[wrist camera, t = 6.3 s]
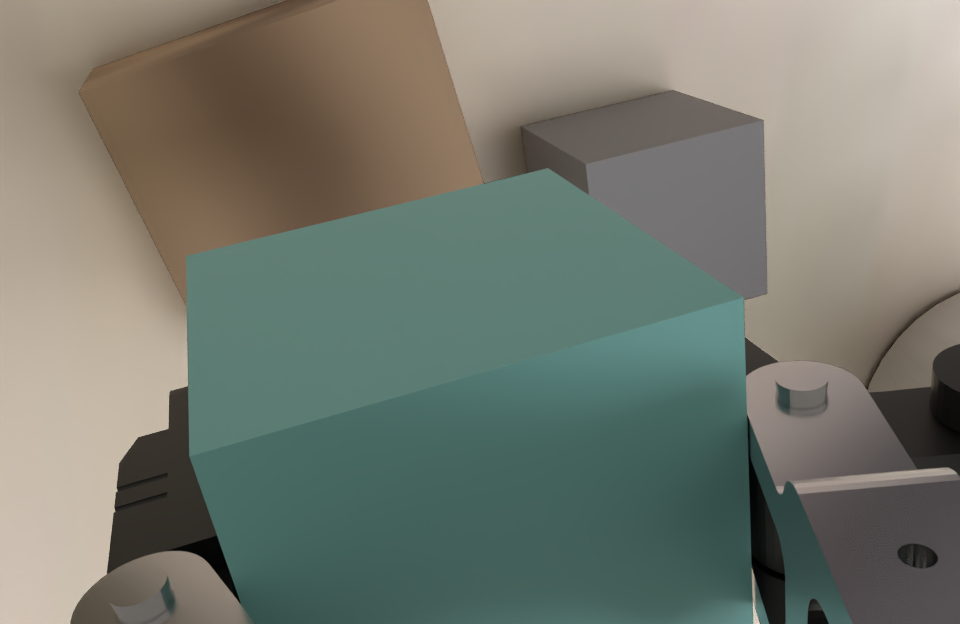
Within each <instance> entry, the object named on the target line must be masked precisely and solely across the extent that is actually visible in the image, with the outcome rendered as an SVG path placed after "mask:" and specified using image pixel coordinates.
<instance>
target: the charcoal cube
mask: <svg viewBox="0 0 960 624" xmlns="http://www.w3.org/2000/svg"><path fill="white" fill-rule="evenodd" d="M521 132H522V139H523V146H524V153H525V160H526V167H527V173H530V172H534V171H539V170H543V169H547V168H549V169H550V170H552V171H553V172H555V173H556V174H558V175H559V176H561V177H562V178H564V179H565V180H567V181H568V182H570V183H571V184H573V185H574V186H576V187H577V188H579V189H580V190H582V191H583V192H585V193H586V194H588V195H589V196H591V197H592V198H594V199H595V200H597V201H599V202H600V203H602V204H603V205H605V206H606V207H608V208H609V209H611V210H612V211H614V212H615V213H617V214H618V215H620V216H621V217H623V218H624V219H626V220H627V221H629V222H630V223H632V224H633V225H635V226H636V227H638V228H639V229H641V230H642V231H644V232H645V233H647V234H648V235H650V236H651V237H653V238H654V239H656V240H657V241H659V242H660V243H662V244H664V245H665V246H667V247H668V248H670V249H671V250H673V251H674V252H676V253H677V254H679V255H680V256H682V257H683V258H685V259H686V260H688V261H689V262H691V263H692V264H694V265H695V266H697V267H698V268H700V269H701V270H703V271H704V272H706V273H707V274H709V275H710V276H712V277H713V278H715V279H716V280H718V281H719V282H721V283H722V284H724V285H725V286H727V287H729V288H730V289H732V290H733V291H735V292H736V293H738V294H739V295H741V296H742V297H744V300H747V299H750V298H754V297H757V296H761V295H764V294H767V256H766V212H765V167H764V123H763V120H761V119H758V118H755V117H752V116H749V115H746V114H743V113H740V112H737V111H734V110H731V109H728V108H725V107H722V106H719V105H716V104H713V103H710V102H707V101H704V100H701V99H698V98H695V97H692V96H689V95H686V94H683V93H680V92H677V91H674V90H672V91H668V92H664V93H659V94H655V95H651V96H647V97H642V98H638V99H634V100H630V101H625V102H621V103H617V104H613V105H608V106H604V107H600V108H596V109H591V110H587V111H583V112H579V113H574V114H570V115H566V116H561V117H557V118H553V119H549V120H544V121H540V122H536V123H532V124H527V125H523V126H521Z"/></svg>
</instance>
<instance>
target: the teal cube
mask: <svg viewBox="0 0 960 624" xmlns="http://www.w3.org/2000/svg"><path fill="white" fill-rule="evenodd" d="M186 280H187V342H188V405H189V457H190V460H191V463H192V465H193V468H194V471H195V474H196V477H197V480H198V483H199V485H200V488H201V491H202V494H203V497H204V500H205V503H206V505H207V508H208V511H209V514H210V517H211V520H212V523H213V525H214V528H215V531H216V534H217V537H218V540H219V542H220V545H221V548H222V551H223V554H224V557H225V560H226V562H227V565H228V568H229V571H230V574H231V577H232V580H233V582H234V585H235V588H236V591H237V594H238V597H239V600H240V602H241V605H242V607H243V608H244V609H245V610H246V612H247V613H248V614H249V616H250V617H251V618H252V619H253V621H254V622H255V623H256V624H753V598H752V564H751V530H750V496H749V463H748V429H747V395H746V361H745V328H744V297H742V296H741V295H739V294H738V293H736V292H735V291H733V290H732V289H730V288H729V287H727V286H725V285H724V284H722V283H721V282H719V281H718V280H716V279H715V278H713V277H712V276H710V275H709V274H707V273H706V272H704V271H703V270H701V269H700V268H698V267H697V266H695V265H694V264H692V263H691V262H689V261H688V260H686V259H685V258H683V257H682V256H680V255H679V254H677V253H676V252H674V251H673V250H671V249H670V248H668V247H667V246H665V245H664V244H662V243H660V242H659V241H657V240H656V239H654V238H653V237H651V236H650V235H648V234H647V233H645V232H644V231H642V230H641V229H639V228H638V227H636V226H635V225H633V224H632V223H630V222H629V221H627V220H626V219H624V218H623V217H621V216H620V215H618V214H617V213H615V212H614V211H612V210H611V209H609V208H608V207H606V206H605V205H603V204H602V203H600V202H599V201H597V200H595V199H594V198H592V197H591V196H589V195H588V194H586V193H585V192H583V191H582V190H580V189H579V188H577V187H576V186H574V185H573V184H571V183H570V182H568V181H567V180H565V179H564V178H562V177H561V176H559V175H558V174H556V173H555V172H553V171H552V170H550V169H549V168H547V169H543V170H539V171H534V172H530V173H526V174H522V175H518V176H514V177H510V178H506V179H501V180H497V181H493V182H489V183H485V184H481V185H477V186H473V187H468V188H464V189H460V190H456V191H452V192H448V193H444V194H440V195H435V196H431V197H427V198H423V199H419V200H415V201H411V202H407V203H402V204H398V205H394V206H390V207H386V208H382V209H378V210H374V211H369V212H365V213H361V214H357V215H353V216H349V217H345V218H341V219H336V220H332V221H328V222H324V223H320V224H316V225H312V226H308V227H303V228H299V229H295V230H291V231H287V232H283V233H279V234H275V235H270V236H266V237H262V238H258V239H254V240H250V241H246V242H242V243H237V244H233V245H229V246H225V247H221V248H217V249H213V250H209V251H205V252H200V253H196V254H192V255H188V256H186Z"/></svg>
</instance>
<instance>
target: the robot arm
mask: <svg viewBox="0 0 960 624" xmlns="http://www.w3.org/2000/svg"><path fill="white" fill-rule="evenodd" d="M745 361H746V395H747V429H748V463H749V496H750V530H751V564H752V598H753V602H754V605H755V608H756V612H757V615H758V618H759V622H760V624H960V293H958V294H956V295H954V296H952V297H950V298H948V299H946V300H944V301H942V302H940V303H938V304H937V305H935V306H934V307H933V308H931V309H930V310H928V311H927V312H926V313H924V314H923V315H922V316H920V317H919V318H918V319H916V320H915V321H914V322H913V323H912V324H911V325H910V326H909V327H908V328H907V329H906V330H905V331H904V332H903V333H902V334H901V335H900V336H899V337H898V339H897V340H896V341H895V343H894V344H893V345H892V347H891V348H890V349H889V351H888V352H887V353H886V355H885V356H884V358H883V359H882V361H881V363H880V364H879V366H878V368H877V370H876V372H875V374H874V376H873V378H872V380H871V382H870V384H869V387H868V390H867V389H866V388H865V386H864V385H863V383H862V382H861V381H860V380H859V379H858V378H857V377H856V376H855V375H853V374H852V373H850V372H848V371H846V370H844V369H842V368H839V367H837V366H833V365H830V364H826V363H821V362H814V361H785V362H778V361H776V360H775V359H774V358H772V357H771V356H769V355H768V354H767V353H765V352H764V351H763V350H761V349H760V348H759V347H757V346H756V345H754V344H753V343H752V342H750V341H749V340H748V339H746V338H745ZM117 490H118V492H116V498H115V507H114V508H115V511H116V512H115V513H114V516H113V525H112V534H111V543H110V552H109V561H108V570H107V575H106V576H104V577H103V578H101V579H100V580H99V581H98V582H97V583H95V584H94V585H93V586H92V587H91V588H90V589H89V590H88V591H87V592H86V593H85V594H84V596H83V597H82V598H81V600H80V601H79V603H78V604H77V606H76V608H75V610H74V612H73V614H72V618H71V624H256V623H255V622H254V621H253V619H252V618H251V617H250V616H249V614H248V613H247V612H246V610H245V609H244V608H243V607H242V605H241V602H240V600H239V597H238V594H237V591H236V588H235V585H234V582H233V580H232V577H231V574H230V571H229V568H228V565H227V562H226V560H225V557H224V554H223V551H222V548H221V545H220V542H219V540H218V537H217V534H216V531H215V528H214V525H213V523H212V520H211V517H210V514H209V511H208V508H207V505H206V503H205V500H204V497H203V494H202V491H201V488H200V485H199V483H198V480H197V477H196V474H195V471H194V468H193V465H192V463H191V460H190V457H189V405H188V386H187V387H184V388H180V389H176V390H173V391H170V395H169V429H167V430H163V431H160V432H156V433H153V434H149V435H145V436H142V437H138V439H137V440H136V441H135V443H134V444H133V445H132V447H131V448H130V449H129V451H128V452H127V454H126V455H125V456H124V458H123V459H122V460H121V462H120V463H119V472H118V480H117Z"/></svg>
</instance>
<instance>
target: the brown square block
mask: <svg viewBox="0 0 960 624" xmlns="http://www.w3.org/2000/svg"><path fill="white" fill-rule="evenodd" d="M79 94H80V96H81V98H82V100H83V102H84V104H85V106H86V108H87V110H88V112H89V114H90V116H91V118H92V120H93V122H94V124H95V126H96V128H97V130H98V132H99V134H100V136H101V138H102V140H103V142H104V144H105V146H106V148H107V150H108V152H109V154H110V156H111V158H112V160H113V162H114V164H115V166H116V168H117V170H118V172H119V174H120V176H121V178H122V180H123V182H124V184H125V186H126V188H127V190H128V191H129V193H130V195H131V197H132V199H133V201H134V203H135V205H136V207H137V209H138V211H139V213H140V215H141V217H142V219H143V221H144V223H145V225H146V227H147V229H148V231H149V233H150V235H151V237H152V239H153V241H154V243H155V245H156V247H157V249H158V251H159V253H160V255H161V257H162V259H163V261H164V263H165V265H166V267H167V269H168V271H169V273H170V275H171V277H172V279H173V281H174V283H175V285H176V287H177V289H178V291H179V293H180V295H181V297H182V298H183V300H184V302H185V304H186V306H187V280H186V256H188V255H192V254H196V253H200V252H205V251H209V250H213V249H217V248H221V247H225V246H229V245H233V244H237V243H242V242H246V241H250V240H254V239H258V238H262V237H266V236H270V235H275V234H279V233H283V232H287V231H291V230H295V229H299V228H303V227H308V226H312V225H316V224H320V223H324V222H328V221H332V220H336V219H341V218H345V217H349V216H353V215H357V214H361V213H365V212H369V211H374V210H378V209H382V208H386V207H390V206H394V205H398V204H402V203H407V202H411V201H415V200H419V199H423V198H427V197H431V196H435V195H440V194H444V193H448V192H452V191H456V190H460V189H464V188H468V187H473V186H477V185H481V184H484V182H483V179H482V176H481V173H480V169H479V166H478V163H477V160H476V156H475V153H474V150H473V147H472V143H471V140H470V137H469V134H468V130H467V127H466V124H465V121H464V117H463V114H462V111H461V108H460V104H459V101H458V98H457V95H456V91H455V88H454V85H453V82H452V79H451V75H450V72H449V69H448V66H447V62H446V59H445V56H444V53H443V49H442V46H441V43H440V40H439V36H438V33H437V30H436V27H435V23H434V20H433V17H432V14H431V10H430V7H429V4H428V1H427V0H287V1H285V2H282V3H279V4H276V5H273V6H270V7H267V8H265V9H262V10H259V11H256V12H253V13H250V14H248V15H245V16H242V17H239V18H236V19H233V20H230V21H228V22H225V23H222V24H219V25H216V26H213V27H211V28H208V29H205V30H202V31H199V32H196V33H193V34H191V35H188V36H185V37H182V38H179V39H176V40H174V41H171V42H168V43H165V44H162V45H159V46H156V47H154V48H151V49H148V50H145V51H142V52H139V53H137V54H134V55H131V56H128V57H125V58H122V59H119V60H117V61H114V62H111V63H108V64H105V65H102V66H100V67H97V68H94V69H93V70H92V72H91V73H90V75H89V76H88V78H87V80H86V81H85V83H84V84H83V86H82V88H81V89H80V91H79Z"/></svg>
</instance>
